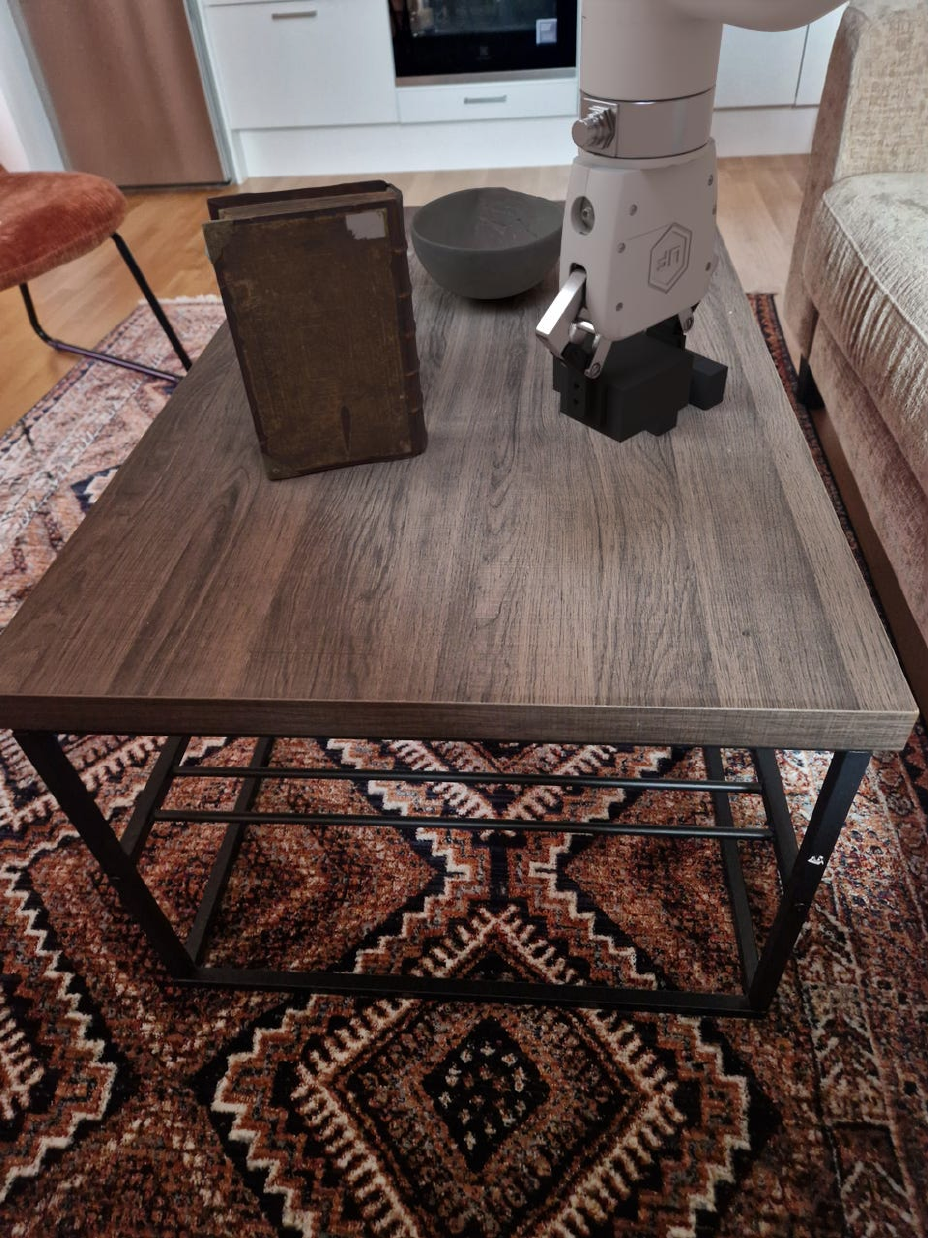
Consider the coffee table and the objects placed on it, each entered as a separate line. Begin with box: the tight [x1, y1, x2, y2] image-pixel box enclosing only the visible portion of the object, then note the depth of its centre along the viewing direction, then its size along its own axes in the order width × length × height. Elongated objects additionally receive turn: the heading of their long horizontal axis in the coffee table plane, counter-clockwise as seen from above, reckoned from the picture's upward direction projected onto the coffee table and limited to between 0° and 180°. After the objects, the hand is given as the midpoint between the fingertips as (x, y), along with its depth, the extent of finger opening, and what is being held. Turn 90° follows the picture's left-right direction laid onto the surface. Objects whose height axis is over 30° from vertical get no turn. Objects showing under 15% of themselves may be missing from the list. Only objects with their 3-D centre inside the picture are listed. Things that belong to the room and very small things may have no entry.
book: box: [201, 179, 429, 481], centre depth 78 cm, size 17×7×25 cm, turn 95°
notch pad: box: [640, 330, 729, 437], centre depth 90 cm, size 14×10×4 cm
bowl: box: [409, 186, 565, 300], centre depth 110 cm, size 20×20×10 cm
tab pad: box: [552, 331, 694, 444], centre depth 61 cm, size 9×7×4 cm
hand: (624, 398), depth 61 cm, fingers closed on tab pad, 7 cm apart
